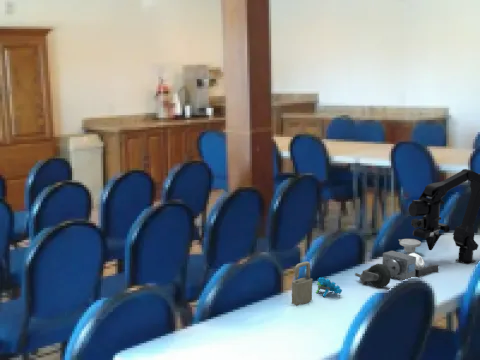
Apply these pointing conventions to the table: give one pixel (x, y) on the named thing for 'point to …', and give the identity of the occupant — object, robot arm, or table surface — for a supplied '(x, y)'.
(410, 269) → the bracket
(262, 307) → the table surface
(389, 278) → the caster wheel
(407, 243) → the showerhead
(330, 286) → the blue toy creature
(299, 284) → the padlock
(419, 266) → the white folded round lump
